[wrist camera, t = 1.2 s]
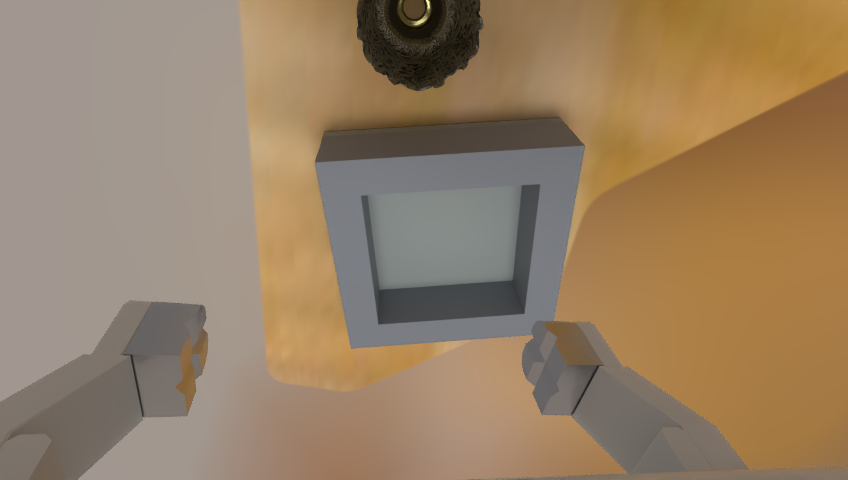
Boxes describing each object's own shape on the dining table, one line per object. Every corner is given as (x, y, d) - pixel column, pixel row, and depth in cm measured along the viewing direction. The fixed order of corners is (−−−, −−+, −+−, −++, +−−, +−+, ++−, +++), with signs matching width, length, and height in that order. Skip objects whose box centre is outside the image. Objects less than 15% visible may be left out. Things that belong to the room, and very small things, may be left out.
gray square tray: (559, 117, 38) (584, 145, 33) (535, 293, 50) (551, 333, 45) (324, 131, 38) (314, 162, 33) (354, 306, 49) (350, 348, 44)
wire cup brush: (398, 78, 36) (400, 113, 29) (342, -12, 32) (329, 4, 25) (481, 25, 34) (504, 48, 27) (432, -78, 30) (444, -79, 23)
